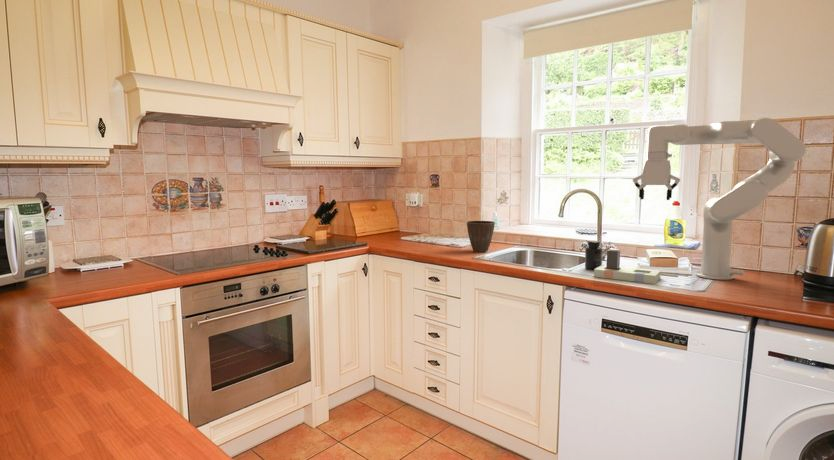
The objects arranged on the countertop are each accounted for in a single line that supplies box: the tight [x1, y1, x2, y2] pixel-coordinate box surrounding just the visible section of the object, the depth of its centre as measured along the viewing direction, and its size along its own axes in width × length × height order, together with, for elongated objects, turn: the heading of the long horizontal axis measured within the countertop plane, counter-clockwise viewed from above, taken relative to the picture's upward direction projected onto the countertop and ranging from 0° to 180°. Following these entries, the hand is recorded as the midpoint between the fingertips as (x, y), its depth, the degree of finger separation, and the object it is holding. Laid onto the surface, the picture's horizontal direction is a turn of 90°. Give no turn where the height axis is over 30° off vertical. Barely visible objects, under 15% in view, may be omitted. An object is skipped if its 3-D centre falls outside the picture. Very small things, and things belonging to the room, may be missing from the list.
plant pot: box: [466, 220, 496, 253], centre depth 253 cm, size 15×15×16 cm
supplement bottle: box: [584, 240, 603, 271], centre depth 204 cm, size 7×7×12 cm
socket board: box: [593, 264, 662, 285], centre depth 187 cm, size 22×12×3 cm, turn 54°
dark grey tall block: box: [605, 247, 621, 270], centre depth 189 cm, size 4×4×11 cm
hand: (654, 199), depth 193 cm, fingers open, 9 cm apart
